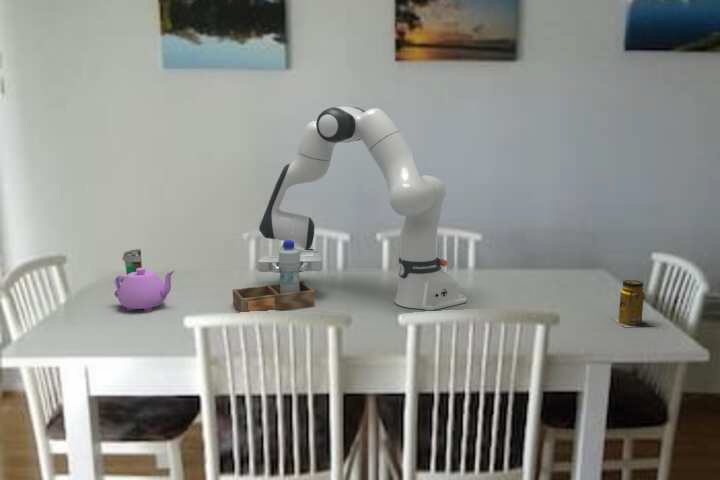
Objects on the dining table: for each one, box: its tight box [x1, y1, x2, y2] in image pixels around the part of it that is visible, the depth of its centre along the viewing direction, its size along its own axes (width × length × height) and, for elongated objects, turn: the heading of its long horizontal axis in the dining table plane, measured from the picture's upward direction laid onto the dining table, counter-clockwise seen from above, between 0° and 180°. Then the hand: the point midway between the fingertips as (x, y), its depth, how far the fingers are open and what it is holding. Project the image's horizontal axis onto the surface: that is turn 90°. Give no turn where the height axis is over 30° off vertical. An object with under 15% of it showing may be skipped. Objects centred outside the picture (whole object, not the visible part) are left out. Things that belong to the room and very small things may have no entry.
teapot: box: [114, 267, 176, 312], centre depth 200 cm, size 20×14×12 cm
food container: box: [121, 248, 143, 275], centre depth 231 cm, size 12×6×10 cm, turn 17°
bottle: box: [278, 240, 300, 294], centre depth 202 cm, size 7×7×20 cm
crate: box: [232, 281, 315, 313], centre depth 201 cm, size 22×12×5 cm, turn 113°
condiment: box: [613, 279, 655, 328], centre depth 183 cm, size 7×8×12 cm
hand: (289, 269), depth 201 cm, fingers closed on bottle, 6 cm apart
